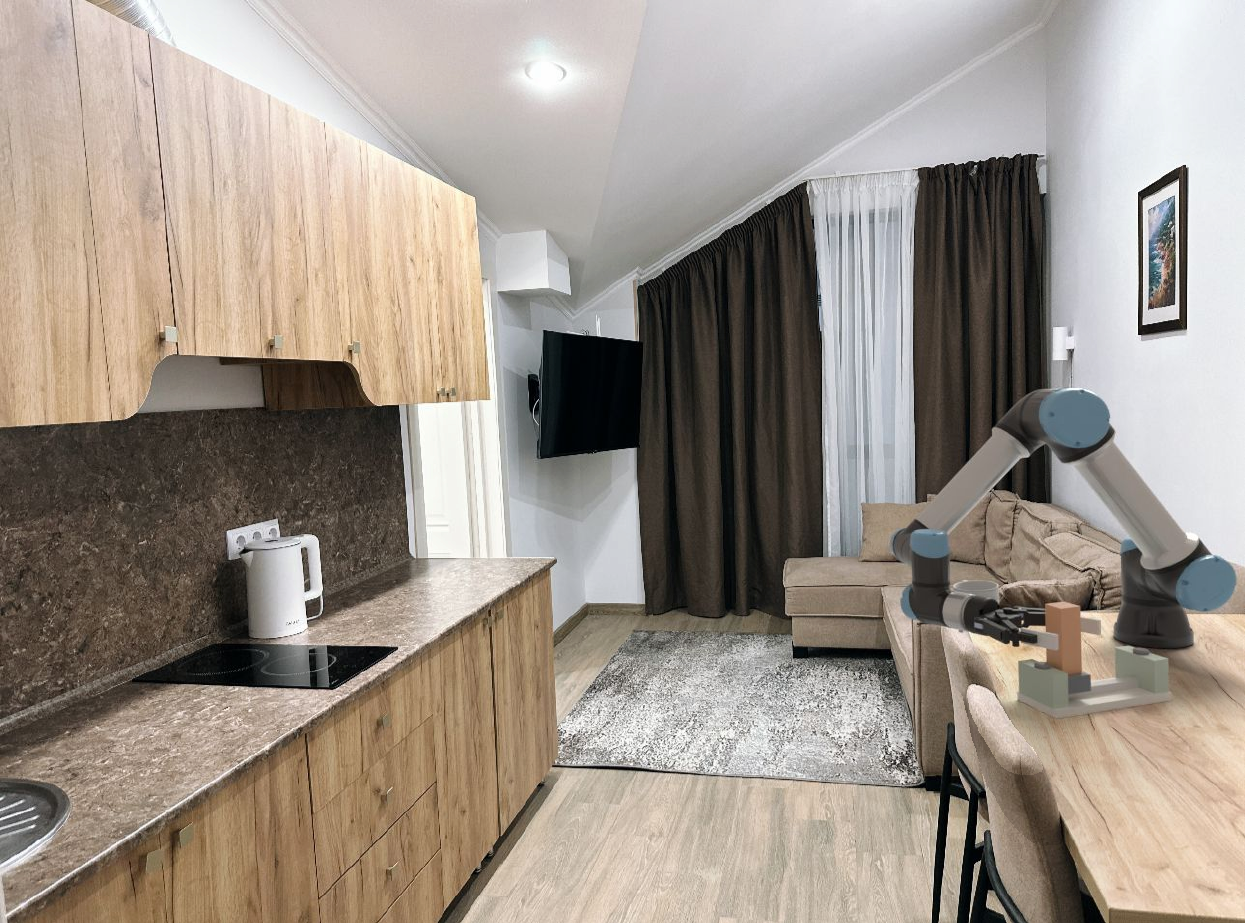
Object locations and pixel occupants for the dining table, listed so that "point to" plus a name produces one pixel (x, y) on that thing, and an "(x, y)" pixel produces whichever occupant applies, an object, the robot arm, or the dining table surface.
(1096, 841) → the dining table surface
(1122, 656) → the end cabinets
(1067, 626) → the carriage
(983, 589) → the teacup
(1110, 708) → the rail bed
